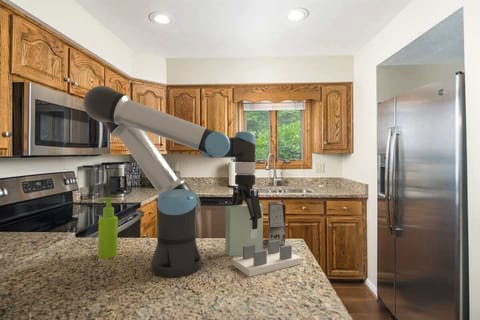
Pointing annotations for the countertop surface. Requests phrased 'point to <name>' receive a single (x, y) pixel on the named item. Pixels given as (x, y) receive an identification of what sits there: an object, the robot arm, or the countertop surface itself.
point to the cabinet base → (266, 259)
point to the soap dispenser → (107, 231)
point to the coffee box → (276, 221)
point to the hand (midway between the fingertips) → (244, 234)
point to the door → (241, 230)
